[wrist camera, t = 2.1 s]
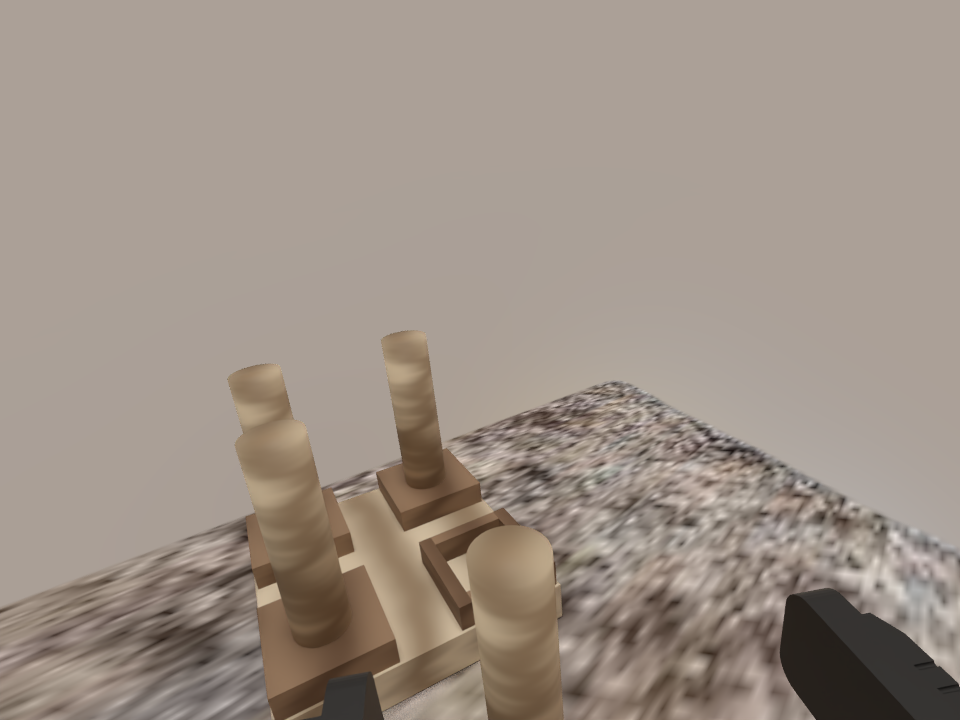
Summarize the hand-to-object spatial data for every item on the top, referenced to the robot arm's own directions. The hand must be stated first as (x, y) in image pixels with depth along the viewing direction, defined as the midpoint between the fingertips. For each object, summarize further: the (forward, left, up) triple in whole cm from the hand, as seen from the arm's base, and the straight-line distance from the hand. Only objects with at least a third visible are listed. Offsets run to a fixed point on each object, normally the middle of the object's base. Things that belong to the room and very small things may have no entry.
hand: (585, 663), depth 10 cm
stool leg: (-2, +11, -23) cm, 26 cm away
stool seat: (-13, +26, -23) cm, 37 cm away
